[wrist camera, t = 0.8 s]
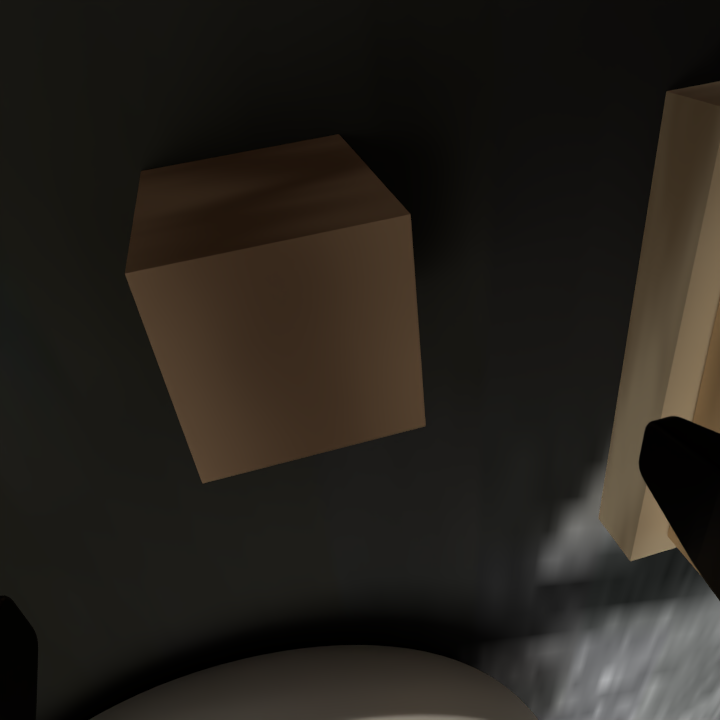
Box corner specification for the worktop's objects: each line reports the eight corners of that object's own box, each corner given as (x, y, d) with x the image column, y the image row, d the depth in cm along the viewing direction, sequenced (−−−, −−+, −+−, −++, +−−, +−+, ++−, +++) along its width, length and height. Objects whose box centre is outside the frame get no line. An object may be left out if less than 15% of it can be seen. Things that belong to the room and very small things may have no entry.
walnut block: (338, 133, 16) (410, 214, 11) (360, 302, 19) (425, 426, 14) (141, 170, 15) (124, 273, 10) (195, 340, 18) (202, 483, 13)
